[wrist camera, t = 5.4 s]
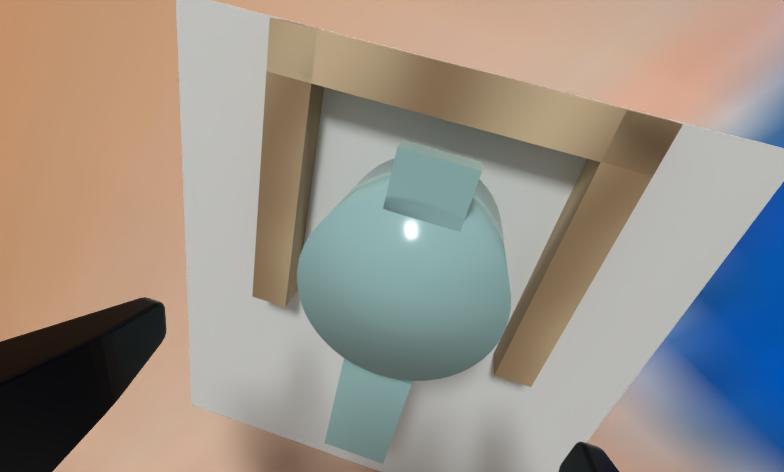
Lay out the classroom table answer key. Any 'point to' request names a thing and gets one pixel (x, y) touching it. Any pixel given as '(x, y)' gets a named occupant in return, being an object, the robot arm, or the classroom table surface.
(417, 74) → the cradle
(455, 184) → the teal dome with tabs
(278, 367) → the board
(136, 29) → the classroom table surface
